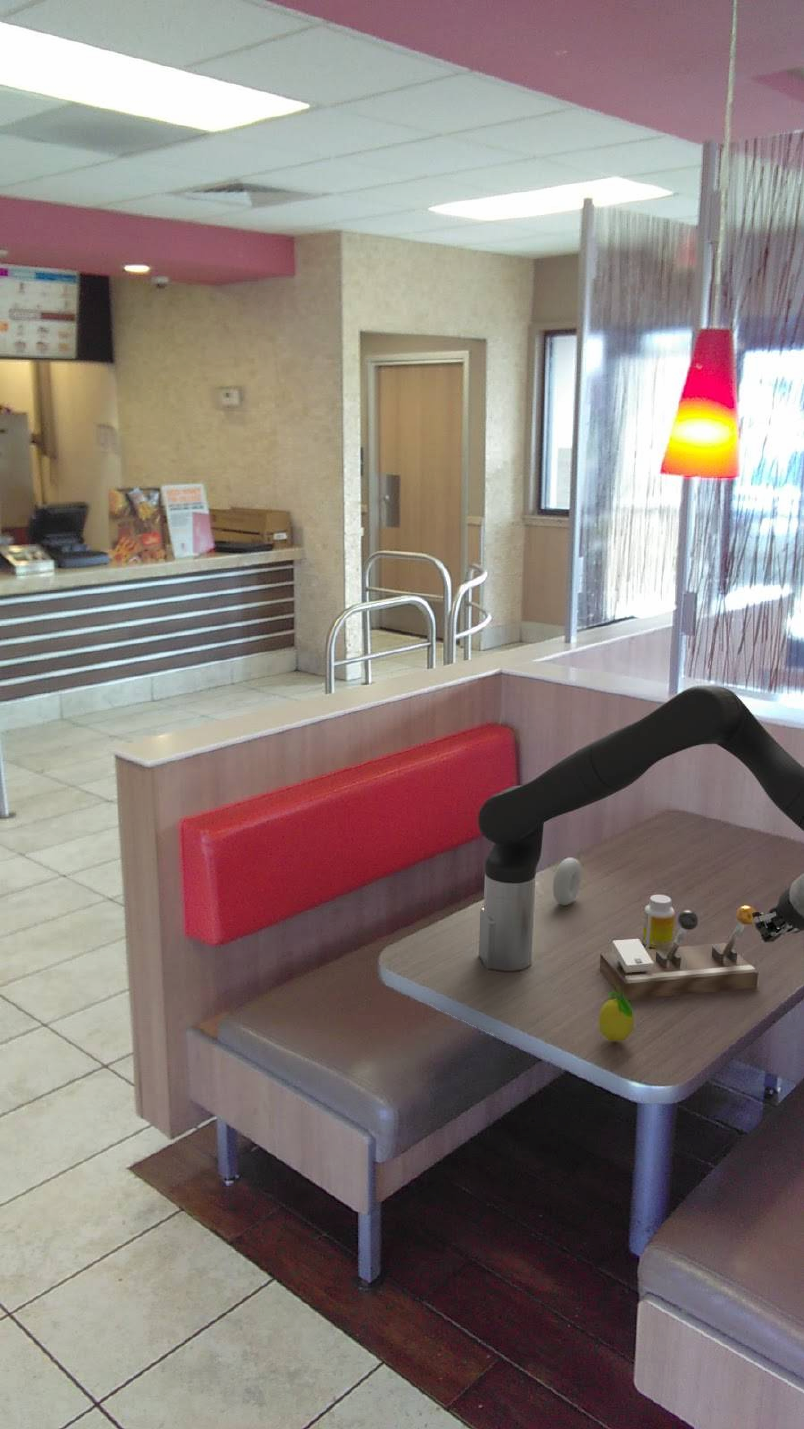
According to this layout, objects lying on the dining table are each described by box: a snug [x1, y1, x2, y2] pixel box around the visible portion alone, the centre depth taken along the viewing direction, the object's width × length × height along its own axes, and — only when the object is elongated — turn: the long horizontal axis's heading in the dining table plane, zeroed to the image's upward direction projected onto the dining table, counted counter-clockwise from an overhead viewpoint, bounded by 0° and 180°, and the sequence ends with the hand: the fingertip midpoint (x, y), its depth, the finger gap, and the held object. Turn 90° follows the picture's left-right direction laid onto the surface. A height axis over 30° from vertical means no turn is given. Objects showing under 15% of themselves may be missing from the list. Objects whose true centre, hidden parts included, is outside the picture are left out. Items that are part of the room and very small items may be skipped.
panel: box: [599, 942, 759, 1000], centre depth 203 cm, size 25×12×5 cm, turn 102°
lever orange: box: [723, 905, 757, 957], centre depth 200 cm, size 3×3×13 cm
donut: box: [552, 857, 583, 906], centre depth 234 cm, size 10×4×10 cm, turn 149°
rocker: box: [611, 938, 654, 973], centre depth 201 cm, size 5×7×2 cm
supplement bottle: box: [642, 894, 675, 950], centre depth 214 cm, size 6×6×10 cm
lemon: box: [598, 986, 635, 1043], centre depth 181 cm, size 7×6×10 cm
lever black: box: [666, 909, 699, 961], centre depth 197 cm, size 3×3×14 cm
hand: (766, 936), depth 190 cm, fingers closed
